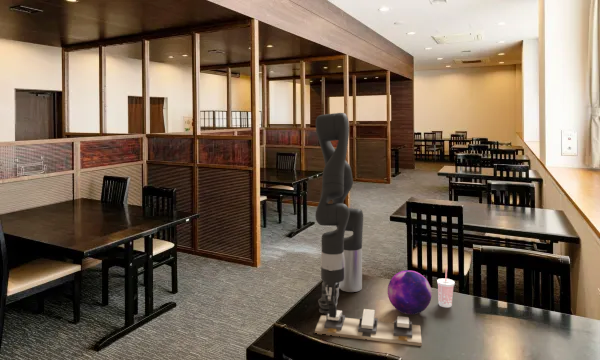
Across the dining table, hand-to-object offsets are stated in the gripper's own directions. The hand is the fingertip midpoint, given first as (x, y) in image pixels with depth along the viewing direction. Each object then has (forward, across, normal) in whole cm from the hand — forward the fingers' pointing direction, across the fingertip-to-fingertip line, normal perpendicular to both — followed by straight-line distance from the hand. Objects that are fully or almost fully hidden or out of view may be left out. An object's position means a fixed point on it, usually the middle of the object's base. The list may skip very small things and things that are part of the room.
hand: (332, 316), depth 131 cm
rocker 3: (+2, -3, +22) cm, 22 cm away
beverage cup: (+5, -28, +37) cm, 47 cm away
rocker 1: (+2, -3, 0) cm, 4 cm away
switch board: (+5, -2, +11) cm, 12 cm away
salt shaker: (+5, -14, -5) cm, 15 cm away
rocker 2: (+2, -3, +11) cm, 12 cm away
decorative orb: (+5, -19, +24) cm, 31 cm away
